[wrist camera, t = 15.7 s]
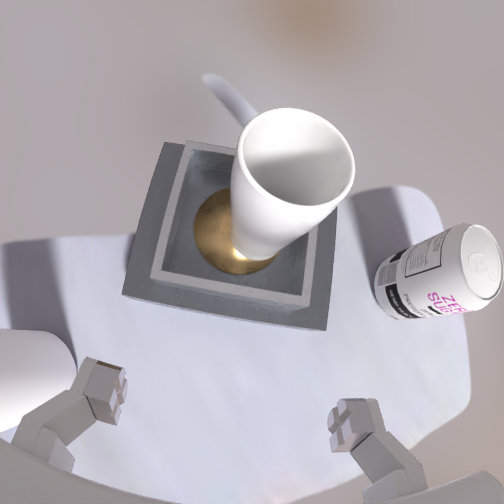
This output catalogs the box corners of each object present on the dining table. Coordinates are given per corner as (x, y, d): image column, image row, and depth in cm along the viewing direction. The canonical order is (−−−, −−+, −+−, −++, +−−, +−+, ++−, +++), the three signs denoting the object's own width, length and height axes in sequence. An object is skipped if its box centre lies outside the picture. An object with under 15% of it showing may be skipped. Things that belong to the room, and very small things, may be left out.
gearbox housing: (131, 298, 31) (110, 289, 24) (167, 160, 35) (161, 123, 28) (312, 330, 33) (340, 330, 25) (326, 192, 37) (351, 162, 30)
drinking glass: (207, 230, 29) (208, 141, 15) (259, 190, 31) (298, 90, 17) (253, 284, 29) (300, 239, 14) (303, 239, 30) (378, 168, 16)
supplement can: (415, 254, 37) (496, 218, 23) (424, 315, 35) (511, 301, 21) (367, 258, 36) (447, 216, 21) (375, 325, 34) (464, 315, 19)
